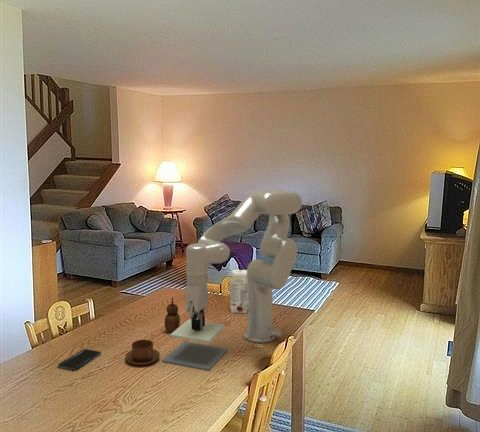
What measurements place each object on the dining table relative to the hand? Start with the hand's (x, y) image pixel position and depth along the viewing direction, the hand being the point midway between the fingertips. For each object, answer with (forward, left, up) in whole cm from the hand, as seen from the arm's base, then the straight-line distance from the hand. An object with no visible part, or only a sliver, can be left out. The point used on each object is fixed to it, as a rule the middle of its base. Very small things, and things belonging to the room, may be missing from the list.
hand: (198, 327), depth 176 cm
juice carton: (+2, -51, -11) cm, 53 cm away
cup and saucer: (+17, +11, -11) cm, 23 cm away
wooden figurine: (+19, -17, -11) cm, 28 cm away
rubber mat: (0, +1, -11) cm, 11 cm away
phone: (+36, +20, -11) cm, 43 cm away
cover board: (0, 0, -2) cm, 2 cm away
